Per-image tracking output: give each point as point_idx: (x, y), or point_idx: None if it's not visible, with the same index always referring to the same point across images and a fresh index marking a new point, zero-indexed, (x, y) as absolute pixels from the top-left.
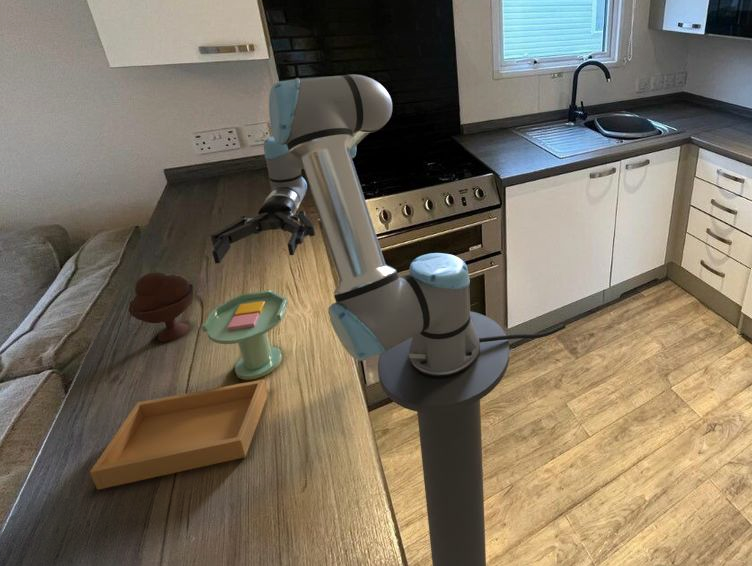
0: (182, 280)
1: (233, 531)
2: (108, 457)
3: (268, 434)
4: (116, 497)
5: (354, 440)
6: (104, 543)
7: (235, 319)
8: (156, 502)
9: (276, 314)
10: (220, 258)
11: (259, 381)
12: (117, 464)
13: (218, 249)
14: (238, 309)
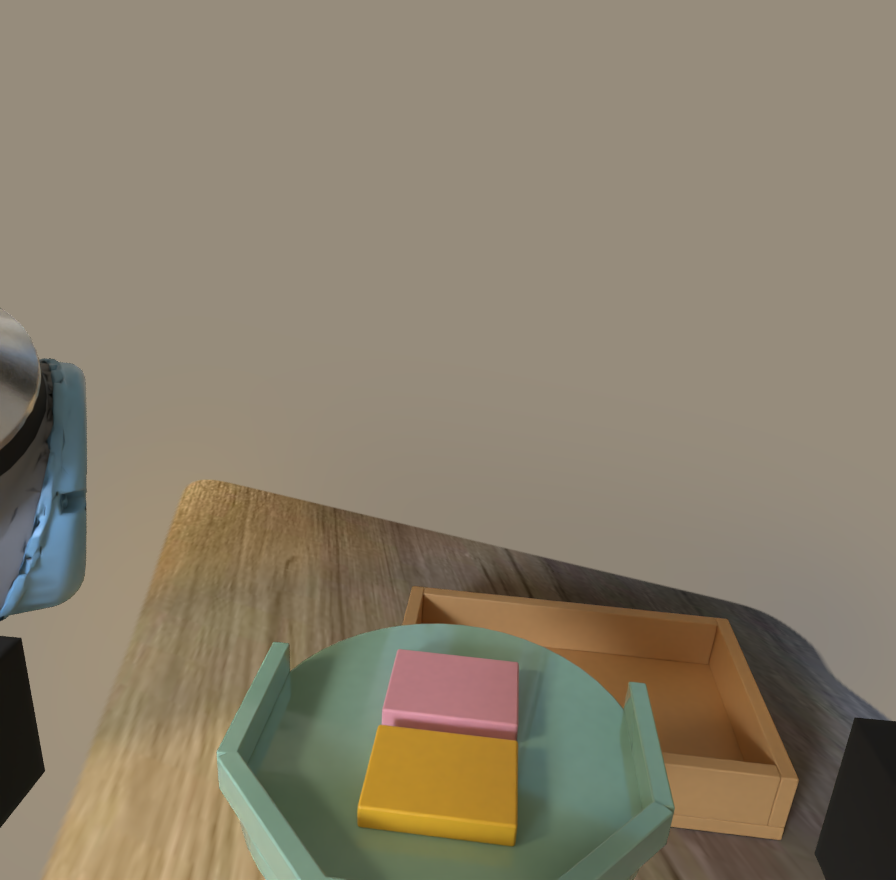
0: None
1: (406, 545)
2: (723, 652)
3: None
4: None
5: (171, 597)
6: (615, 586)
7: (496, 699)
8: None
9: (293, 711)
10: (845, 875)
11: None
12: (675, 617)
13: (886, 773)
14: (508, 774)
